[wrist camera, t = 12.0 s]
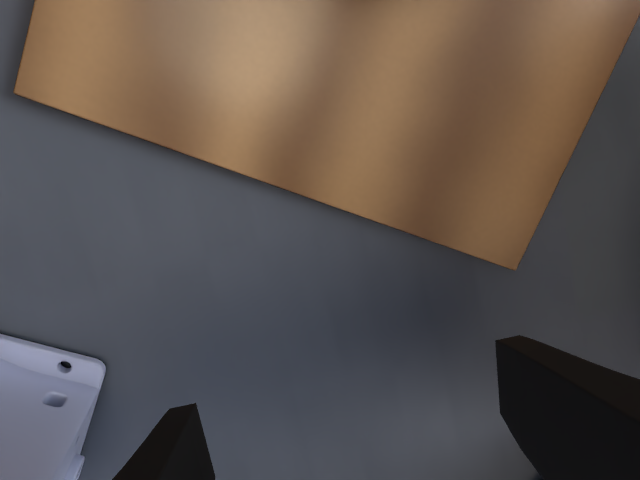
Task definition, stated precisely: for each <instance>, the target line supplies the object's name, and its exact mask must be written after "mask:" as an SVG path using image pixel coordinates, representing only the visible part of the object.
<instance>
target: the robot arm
mask: <svg viewBox="0 0 640 480" xmlns="http://www.w3.org/2000/svg"><path fill="white" fill-rule="evenodd" d="M495 342H496V357H497V372H498V388H499V403H500V414H501V415H502V417H503V419H504V421H505V423H506V424H507V426H508V428H509V430H510V432H511V433H512V435H513V437H514V438H515V440H516V442H517V443H518V445H519V447H520V448H521V450H522V451H523V453H524V454H525V455H526V457H527V458H528V459H529V461H530V462H531V463H532V465H533V466H534V467H535V468H536V470H537V471H538V472H539V474H540V475H541V476H542V478H543V479H544V480H640V379H637V378H634V377H631V376H628V375H625V374H622V373H619V372H616V371H614V370H611V369H608V368H605V367H603V366H600V365H597V364H595V363H592V362H589V361H587V360H584V359H582V358H579V357H577V356H574V355H571V354H569V353H566V352H564V351H561V350H559V349H556V348H554V347H551V346H549V345H546V344H544V343H541V342H538V341H536V340H533V339H530V338H527V337H524V336H520V335H519V336H514V337H509V338H504V339H500V340H495ZM62 361H66V362H68V363H70V365H71V368H65V367H63V366H62V364H61V362H62ZM105 373H106V367H105V365H104V363H103V362H102V361H100V360H98V359H96V358H92V357H88V356H84V355H80V354H77V353H73V352H69V351H65V350H61V349H57V348H53V347H50V346H46V345H42V344H38V343H34V342H30V341H26V340H22V339H19V338H15V337H11V336H7V335H3V334H0V480H78V478H79V476H80V473H81V470H82V467H83V464H84V460H85V457H84V456H82V455H80V453H81V450H82V447H83V443H84V440H85V437H86V434H87V431H88V427H89V424H90V421H91V418H92V415H93V411H94V408H95V405H96V402H97V399H98V395H99V392H100V389H101V386H102V382H103V379H104V376H105ZM112 480H215V473H214V470H213V466H212V462H211V458H210V454H209V451H208V447H207V443H206V439H205V436H204V432H203V428H202V424H201V420H200V417H199V413H198V409H197V405H196V403H194V404H190V405H185V406H180V407H175V408H171V409H169V410H168V411H167V412H166V413H165V415H164V416H163V417H162V418H161V420H160V421H159V422H158V424H157V425H156V426H155V428H154V429H153V430H152V431H151V433H150V434H149V435H148V437H147V438H146V439H145V441H144V442H143V443H142V444H141V446H140V447H139V448H138V449H137V451H136V452H135V453H134V454H133V456H132V457H131V458H130V459H129V461H128V462H127V463H126V464H125V466H124V467H123V468H122V469H121V470H120V471H119V472H118V474H117V475H116V476H115V477H114V478H113V479H112Z"/></svg>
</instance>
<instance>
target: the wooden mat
mask: <svg viewBox="0 0 640 480" xmlns="http://www.w3.org/2000/svg"><path fill="white" fill-rule="evenodd" d="M639 15H640V0H35V2H34V7H33V11H32V15H31V19H30V24H29V28H28V32H27V36H26V41H25V45H24V49H23V53H22V58H21V62H20V66H19V70H18V75H17V79H16V83H15V87H14V94H16V95H19V96H22V97H24V98H27V99H30V100H33V101H36V102H39V103H41V104H44V105H47V106H50V107H53V108H56V109H58V110H61V111H64V112H67V113H70V114H73V115H75V116H78V117H81V118H84V119H87V120H90V121H92V122H95V123H98V124H101V125H104V126H106V127H109V128H112V129H115V130H118V131H121V132H123V133H126V134H129V135H132V136H135V137H138V138H140V139H143V140H146V141H149V142H152V143H155V144H157V145H160V146H163V147H166V148H169V149H172V150H174V151H177V152H180V153H183V154H186V155H189V156H191V157H194V158H197V159H200V160H203V161H206V162H208V163H211V164H214V165H217V166H220V167H223V168H225V169H228V170H231V171H234V172H237V173H240V174H242V175H245V176H248V177H251V178H254V179H256V180H259V181H262V182H265V183H268V184H271V185H273V186H276V187H279V188H282V189H285V190H288V191H290V192H293V193H296V194H299V195H302V196H305V197H307V198H310V199H313V200H316V201H319V202H322V203H324V204H327V205H330V206H333V207H336V208H339V209H341V210H344V211H347V212H350V213H353V214H356V215H358V216H361V217H364V218H367V219H370V220H373V221H375V222H378V223H381V224H384V225H387V226H390V227H392V228H395V229H398V230H401V231H404V232H406V233H409V234H412V235H415V236H418V237H421V238H423V239H426V240H429V241H432V242H435V243H438V244H440V245H443V246H446V247H449V248H452V249H455V250H457V251H460V252H463V253H466V254H469V255H472V256H474V257H477V258H480V259H483V260H486V261H489V262H491V263H494V264H497V265H500V266H503V267H506V268H508V269H511V270H516V269H517V267H518V265H519V263H520V261H521V259H522V257H523V255H524V253H525V251H526V249H527V246H528V244H529V242H530V240H531V238H532V236H533V234H534V232H535V230H536V228H537V226H538V224H539V222H540V220H541V218H542V216H543V213H544V211H545V209H546V207H547V205H548V203H549V201H550V199H551V197H552V195H553V193H554V191H555V189H556V187H557V185H558V182H559V180H560V178H561V176H562V174H563V172H564V170H565V168H566V166H567V164H568V162H569V160H570V158H571V156H572V154H573V152H574V149H575V147H576V145H577V143H578V141H579V139H580V137H581V135H582V133H583V131H584V129H585V127H586V125H587V123H588V121H589V118H590V116H591V114H592V112H593V110H594V108H595V106H596V104H597V102H598V100H599V98H600V96H601V94H602V92H603V90H604V88H605V85H606V83H607V81H608V79H609V77H610V75H611V73H612V71H613V69H614V67H615V65H616V63H617V61H618V59H619V57H620V54H621V52H622V50H623V48H624V46H625V44H626V42H627V40H628V38H629V36H630V34H631V32H632V30H633V28H634V26H635V24H636V21H637V19H638V17H639Z"/></svg>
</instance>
